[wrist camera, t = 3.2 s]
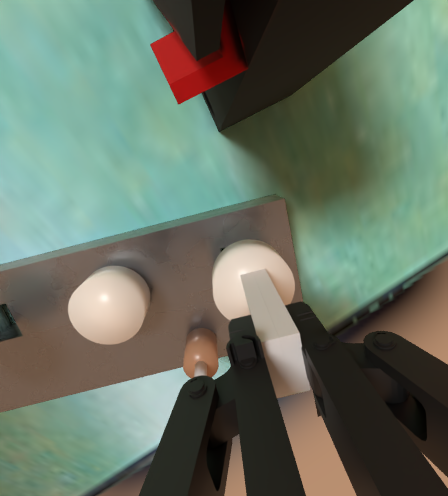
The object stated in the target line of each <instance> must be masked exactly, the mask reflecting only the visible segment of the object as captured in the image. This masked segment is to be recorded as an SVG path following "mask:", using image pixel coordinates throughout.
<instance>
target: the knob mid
mask: <svg viewBox="0 0 448 496" xmlns="http://www.w3.org/2000/svg"><path fill="white" fill-rule="evenodd" d="M150 297H151V296H150V290H149V287H148V285H147V283H146V282H145V280H144V279H143V278H142V277H141V276H140V275H139V274H138V273H136V272H135V271H133V270H131V269H129V268H126V267H123V266H106V267H103V268H100V269H98V270H96V271H95V272H93V273H92V274H91V275H90V276H89V277H88V278H87V279H86V280H85V281H84V282H83V283H82V284H81V285H80V286H79V287H78V288H77V289H76V290H75V291H74V293H73V294H72V296H71V298H70V300H69V304H68V314H69V318H70V321H71V323H72V325H73V326H74V328H75V329H76V330H77V331H78V332H79V333H80V334H81V335H82V336H83V337H85V338H87V339H88V340H90V341H93V342H95V343H99V344H107V345H111V344H119V343H122V342H125V341H127V340H129V339H130V338H132V337H133V336H134V335H135V334H136V333H137V332H138V331H139V329H140V328H141V326H142V323H143V321H144V318H145V315H146V313H147V310H148V308H149V305H150Z"/></svg>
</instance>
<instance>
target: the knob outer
mask: <svg viewBox="0 0 448 496" xmlns="http://www.w3.org/2000/svg"><path fill="white" fill-rule="evenodd" d="M262 269H266V271H267V273H268V275H269V277H270V279H271V281H272V283H273V284H274V286H275V288H276V290H277V292H278V294H279V296H280V297H281V299H282V301H283V303H284V305H288V304H290V303H291V301H292V299H293V296H294V291H295V281H294V277H293V274H292V272H291V270H290V268H289V266H288V265H287V264H286V263H285V261H284V260H283V259H282V257H281V256H280V255H279V254H278V252H277V251H276V250H275V249H274V248H273V247H272V246H270V245H269V244H267V243H265V242H262V241H259V240H252V239H248V240H241V241H237V242H235V243H233V244H231V245H229V246H227V247H226V248H225V249H224V250H223V251H222V252H221V253H220V254H219V255H218V257H217V258H216V260H215V262H214V265H213V269H212V284H213V297H214V301H215V304H216V306H217V308H218V310H219V311H220V312H221V313H222V314H223V315H224V316H225V317H226V318H227V319H228V320H230V321H231V319H235V318H239V317H243V316H247V315H250V313H249V309H248V305H247V301H246V297H245V293H244V289H243V285H242V281H241V277H240V275H242V274H246V273H250V272H254V271H258V270H262Z"/></svg>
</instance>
